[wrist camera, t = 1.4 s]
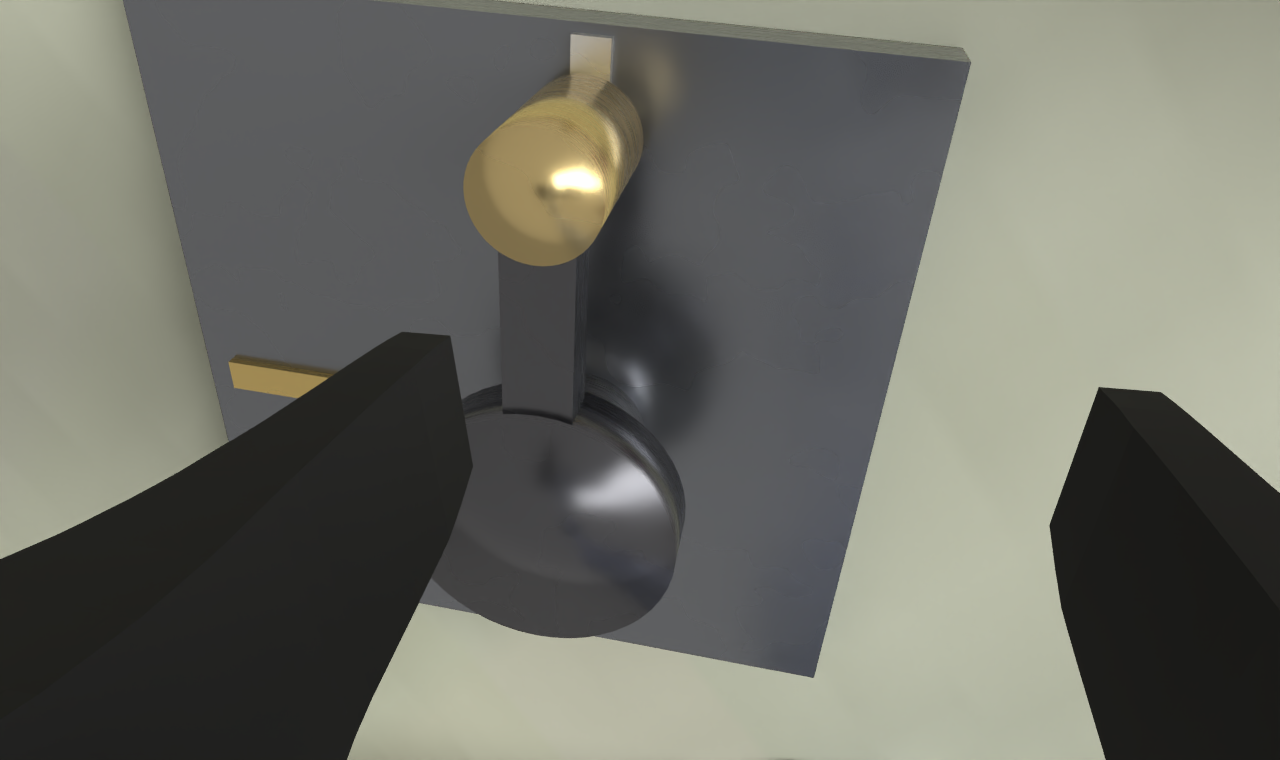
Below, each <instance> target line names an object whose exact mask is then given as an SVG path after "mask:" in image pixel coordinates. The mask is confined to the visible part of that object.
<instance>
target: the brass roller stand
mask: <svg viewBox="0 0 1280 760" xmlns="http://www.w3.org/2000/svg"><path fill="white" fill-rule="evenodd" d="M642 150H643V129H642V124H641V120H640V118H639V115H638V113H637V111H636V109H635V107H634V105H633V104H632V102H631V101H630V99H629V98H628V97H627V96H626V95H625V94H624V93H623V92H622V91H621V90H620V89H619V88H618V87H617V86H615V85H614V84H612V83H610V82H609V81H607V80H605V79H603V78H600V77H597V76H594V75H589V74H578V73H577V74H568V75H564V76H561V77H558V78H556V79H554V80H552V81H550V82H549V83H547V84H546V85H545V86H544V87H542V88H541V89H540V90H539V91H538V92H537V93H536V94H535V95H533V96H532V97H531V98H530V99H529V100H528V101H527V102H526V103H525V104H524V105H522V106H521V107H520V108H519V109H518V110H517V111H516V112H515V113H514V114H513V115H511V116H510V117H509V118H508V119H507V120H506V121H505V122H504V123H503V124H502V125H500V126H499V127H498V128H497V129H496V130H495V131H494V132H493V133H492V134H491V135H489V136H488V137H487V138H486V139H485V140H484V141H483V142H482V143H481V144H480V145H479V146H478V147H477V148H476V150H475V151H474V153H473V154H472V156H471V157H470V160H469V162H468V164H467V167H466V170H465V175H464V181H463V192H464V200H465V204H466V208H467V211H468V213H469V216H470V218H471V220H472V222H473V224H474V226H475V227H476V229H477V230H478V232H479V233H480V234H481V236H482V237H483V238H484V239H485V240H486V241H487V242H488V243H489V244H490V245H491V246H492V247H493V248H495V249H496V250H497V251H498V271H499V306H500V340H501V375H502V384H499V385H495V386H491V387H488V388H484V389H482V390H479V391H477V392H475V393H473V394H470V395H468V396H467V397H465V398H464V399H462V405H463V411H464V417H465V422H466V428H467V434H468V439H469V445H470V451H471V457H472V462H473V468H472V472H471V475H470V478H469V481H468V485H467V488H466V491H465V494H464V497H463V501H462V504H461V507H460V510H459V513H458V516H457V519H456V522H455V524H454V527H453V530H452V533H451V536H450V539H449V541H448V543H447V545H446V547H445V550H444V552H443V554H442V556H441V558H440V560H439V562H438V564H437V566H436V568H435V571H434V573H433V575H432V577H431V578H432V579H433V580H434V581H435V582H436V583H437V584H438V585H439V586H440V587H441V588H442V589H443V590H444V591H445V592H447V593H448V594H449V595H450V596H452V597H453V598H454V599H455V600H457V601H458V602H459V603H461V604H463V605H464V606H466V607H467V608H469V609H470V610H472V611H474V612H475V613H477V614H479V615H481V616H483V617H485V618H487V619H489V620H491V621H493V622H496V623H498V624H500V625H503V626H506V627H509V628H512V629H515V630H518V631H522V632H526V633H530V634H534V635H540V636H547V637H558V638H580V637H590V636H596V635H602V634H605V633H609V632H613V631H616V630H618V629H621V628H623V627H626V626H628V625H630V624H632V623H633V622H635V621H637V620H639V619H640V618H642V617H643V616H644V615H646V614H647V613H648V612H649V611H651V610H652V609H653V608H654V606H655V605H656V604H657V603H658V602H659V601H660V600H661V598H662V597H663V595H664V594H665V592H666V590H667V589H668V587H669V584H670V582H671V579H672V577H673V573H674V568H675V564H676V559H677V554H678V550H679V545H680V540H681V536H682V531H683V526H684V521H685V507H686V504H685V496H684V490H683V486H682V483H681V480H680V476H679V474H678V472H677V470H676V467H675V465H674V463H673V461H672V460H671V458H670V456H669V455H668V453H667V452H666V450H665V449H664V447H663V446H662V445H661V444H660V442H659V441H658V440H657V439H656V438H655V436H654V435H653V434H652V433H651V432H650V431H649V430H648V429H647V428H645V427H644V426H643V425H642V424H641V423H640V422H639V421H638V420H636V419H635V418H634V417H632V416H631V415H630V414H628V413H627V412H626V411H624V410H622V409H621V408H619V407H617V406H616V405H614V404H612V403H610V402H609V401H607V400H605V399H602V398H600V397H598V396H596V395H593V394H591V393H588V392H585V366H586V335H587V304H588V273H589V246H590V245H591V244H592V243H593V242H594V240H595V238H596V237H597V235H598V233H599V232H600V230H601V228H602V226H603V225H604V223H605V221H606V219H607V218H608V216H609V214H610V212H611V211H612V209H613V207H614V205H615V204H616V202H617V200H618V199H619V197H620V195H621V193H622V192H623V190H624V188H625V186H626V185H627V183H628V181H629V179H630V178H631V176H632V174H633V172H634V171H635V169H636V167H637V165H638V163H639V161H640V158H641V154H642Z"/></svg>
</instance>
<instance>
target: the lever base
mask: <svg viewBox="0 0 1280 760" xmlns="http://www.w3.org/2000/svg"><path fill="white" fill-rule="evenodd" d="M123 2H124V6H125V11H126V15H127V19H128V23H129V27H130V31H131V36H132V40H133V44H134V48H135V52H136V57H137V61H138V65H139V69H140V73H141V77H142V82H143V86H144V90H145V94H146V98H147V102H148V107H149V111H150V115H151V119H152V123H153V127H154V132H155V136H156V140H157V144H158V148H159V152H160V157H161V161H162V165H163V169H164V173H165V178H166V182H167V186H168V190H169V194H170V198H171V203H172V207H173V211H174V215H175V219H176V223H177V228H178V232H179V236H180V240H181V244H182V248H183V253H184V257H185V261H186V265H187V269H188V273H189V278H190V282H191V286H192V290H193V294H194V299H195V303H196V307H197V311H198V315H199V319H200V324H201V328H202V332H203V336H204V340H205V344H206V349H207V353H208V357H209V361H210V365H211V369H212V374H213V378H214V382H215V386H216V390H217V394H218V399H219V403H220V407H221V411H222V415H223V420H224V424H225V428H226V432H227V436H228V440H229V442H230V441H231V440H233V439H235V438H236V437H238V436H239V435H241V434H243V433H244V432H246V431H248V430H249V429H251V428H253V427H254V426H256V425H258V424H259V423H261V422H262V421H264V420H266V419H267V418H269V417H270V416H272V415H273V414H275V413H276V412H278V411H279V410H281V409H282V408H284V407H285V406H287V405H288V404H290V403H291V402H293V401H295V400H296V399H298V398H299V397H301V396H302V395H304V394H305V393H307V392H308V391H310V390H311V389H313V388H314V387H316V386H317V385H319V384H320V383H322V382H323V381H325V380H326V379H328V378H329V377H331V376H332V375H334V374H335V373H337V372H338V371H340V370H341V369H343V368H344V367H346V366H347V365H349V364H350V363H352V362H353V361H355V360H356V359H358V358H359V357H361V356H363V355H364V354H366V353H367V352H369V351H370V350H372V349H373V348H375V347H376V346H378V345H380V344H381V343H383V342H385V341H386V340H388V339H390V338H391V337H393V336H395V335H397V334H398V333H400V332H412V333H425V334H437V335H450V337H451V342H452V348H453V354H454V359H455V365H456V371H457V377H458V382H459V388H460V394H461V399H464V398H465V397H467V396H468V395H470V394H473V393H475V392H477V391H479V390H482V389H484V388H488V387H491V386H495V385H499V384H502V375H501V340H500V306H499V271H498V251H497V250H496V249H495V248H493V247H492V246H491V245H490V244H489V243H488V242H487V241H486V240H485V239H484V238H483V237H482V236H481V234H480V233H479V232H478V230H477V229H476V227H475V226H474V224H473V222H472V220H471V218H470V216H469V213H468V211H467V208H466V204H465V200H464V192H463V181H464V175H465V170H466V167H467V164H468V162H469V160H470V157H471V156H472V154H473V153H474V151H475V150H476V148H477V147H478V146H479V145H480V144H481V143H482V142H483V141H484V140H485V139H486V138H487V137H488V136H489V135H491V134H492V133H493V132H494V131H495V130H496V129H497V128H498V127H499V126H500V125H502V124H503V123H504V122H505V121H506V120H507V119H508V118H509V117H510V116H511V115H513V114H514V113H515V112H516V111H517V110H518V109H519V108H520V107H521V106H522V105H524V104H525V103H526V102H527V101H528V100H529V99H530V98H531V97H532V96H533V95H535V94H536V93H537V92H538V91H539V90H540V89H541V88H542V87H544V86H545V85H546V84H547V83H549V82H550V81H552V80H554V79H556V78H558V77H561V76H564V75H568V74H577V73H578V74H589V75H594V76H597V77H600V78H603V79H605V80H607V81H609V82H610V83H612V84H614V85H615V86H617V87H618V88H619V89H620V90H621V91H622V92H623V93H624V94H625V95H626V96H627V97H628V98H629V99H630V101H631V102H632V104H633V105H634V107H635V109H636V111H637V113H638V115H639V118H640V120H641V124H642V129H643V150H642V154H641V158H640V161H639V163H638V165H637V167H636V169H635V171H634V172H633V174H632V176H631V178H630V179H629V181H628V183H627V185H626V186H625V188H624V190H623V192H622V193H621V195H620V197H619V199H618V200H617V202H616V204H615V205H614V207H613V209H612V211H611V212H610V214H609V216H608V218H607V219H606V221H605V223H604V225H603V226H602V228H601V230H600V232H599V233H598V235H597V237H596V238H595V240H594V242H593V243H592V244H591V245H590V246H589V273H588V304H587V335H586V366H585V392H588V393H591V394H593V395H596V396H598V397H600V398H602V399H605V400H607V401H609V402H610V403H612V404H614V405H616V406H617V407H619V408H621V409H622V410H624V411H626V412H627V413H628V414H630V415H631V416H632V417H634V418H635V419H636V420H638V421H639V422H640V423H641V424H642V425H643V426H644V427H645V428H647V429H648V430H649V431H650V432H651V433H652V434H653V435H654V436H655V438H656V439H657V440H658V441H659V442H660V444H661V445H662V446H663V447H664V449H665V450H666V452H667V453H668V455H669V456H670V458H671V460H672V461H673V463H674V465H675V467H676V470H677V472H678V474H679V476H680V480H681V483H682V486H683V490H684V496H685V504H686V507H685V521H684V526H683V531H682V536H681V540H680V545H679V550H678V554H677V559H676V564H675V568H674V573H673V577H672V579H671V582H670V584H669V587H668V589H667V590H666V592H665V594H664V595H663V597H662V598H661V600H660V601H659V602H658V603H657V604H656V605H655V606H654V608H653V609H652V610H651V611H649V612H648V613H647V614H646V615H644V616H643V617H642V618H640V619H639V620H637V621H635V622H633V623H632V624H630V625H628V626H626V627H623V628H621V629H618V630H616V631H613V632H609V633H605V634H602V635H596V636H597V637H602V638H607V639H612V640H618V641H623V642H628V643H633V644H639V645H644V646H649V647H654V648H660V649H665V650H670V651H675V652H681V653H686V654H691V655H697V656H702V657H707V658H712V659H718V660H723V661H728V662H733V663H739V664H744V665H749V666H754V667H760V668H765V669H770V670H775V671H781V672H786V673H791V674H796V675H802V676H807V677H812V678H814V675H815V671H816V667H817V663H818V659H819V655H820V651H821V647H822V643H823V639H824V635H825V632H826V628H827V624H828V620H829V616H830V612H831V608H832V604H833V600H834V596H835V592H836V589H837V585H838V581H839V577H840V573H841V569H842V565H843V561H844V557H845V553H846V549H847V546H848V542H849V538H850V534H851V530H852V526H853V522H854V518H855V514H856V510H857V506H858V503H859V499H860V495H861V491H862V487H863V483H864V479H865V475H866V471H867V467H868V463H869V460H870V456H871V452H872V448H873V444H874V440H875V436H876V432H877V428H878V424H879V420H880V417H881V413H882V409H883V405H884V401H885V397H886V393H887V389H888V385H889V381H890V377H891V373H892V370H893V366H894V362H895V358H896V354H897V350H898V346H899V342H900V338H901V334H902V330H903V327H904V323H905V319H906V315H907V311H908V307H909V303H910V299H911V295H912V291H913V287H914V284H915V280H916V276H917V272H918V268H919V264H920V260H921V256H922V252H923V248H924V244H925V241H926V237H927V233H928V229H929V225H930V221H931V217H932V213H933V209H934V205H935V201H936V198H937V194H938V190H939V186H940V182H941V178H942V174H943V170H944V166H945V162H946V158H947V155H948V151H949V147H950V143H951V139H952V135H953V131H954V127H955V123H956V119H957V115H958V112H959V108H960V104H961V100H962V96H963V92H964V88H965V84H966V80H967V76H968V72H969V69H970V65H971V61H970V60H969V58H968V56H967V54H966V52H965V51H964V49H963V48H956V47H946V46H936V45H927V44H917V43H907V42H897V41H887V40H877V39H868V38H858V37H848V36H838V35H828V34H819V33H809V32H799V31H789V30H779V29H769V28H760V27H750V26H740V25H730V24H720V23H711V22H701V21H691V20H681V19H671V18H661V17H652V16H642V15H632V14H622V13H612V12H602V11H593V10H583V9H573V8H563V7H553V6H544V5H534V4H524V3H514V2H504V1H494V0H123ZM419 603H423V604H428V605H434V606H439V607H444V608H449V609H455V610H460V611H465V612H470V613H475V612H474V611H472V610H470V609H469V608H467V607H466V606H464V605H463V604H461V603H459V602H458V601H457V600H455V599H454V598H453V597H452V596H450V595H449V594H448V593H447V592H445V591H444V590H443V589H442V588H441V587H440V586H439V585H438V584H437V583H436V582H435V581H434V580H433V579H432V578H431V579H430V581H429V583H428V585H427V587H426V589H425V591H424V593H423V596H422V598H421V600H420V602H419ZM476 614H477V613H476Z"/></svg>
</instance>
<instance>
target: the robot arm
mask: <svg viewBox="0 0 1280 760" xmlns="http://www.w3.org/2000/svg"><path fill="white" fill-rule="evenodd" d="M472 468H473V462H472V457H471V451H470V445H469V439H468V434H467V428H466V422H465V417H464V411H463V405H462V399H461V394H460V388H459V382H458V377H457V371H456V365H455V359H454V354H453V348H452V342H451V337H450V335H437V334H425V333H412V332H400V333H398V334H397V335H395V336H393V337H391V338H390V339H388V340H386V341H385V342H383V343H381V344H380V345H378V346H376V347H375V348H373V349H372V350H370V351H369V352H367V353H366V354H364V355H363V356H361V357H359V358H358V359H356V360H355V361H353V362H352V363H350V364H349V365H347V366H346V367H344V368H343V369H341V370H340V371H338V372H337V373H335V374H334V375H332V376H331V377H329V378H328V379H326V380H325V381H323V382H322V383H320V384H319V385H317V386H316V387H314V388H313V389H311V390H310V391H308V392H307V393H305V394H304V395H302V396H301V397H299V398H298V399H296V400H295V401H293V402H291V403H290V404H288V405H287V406H285V407H284V408H282V409H281V410H279V411H278V412H276V413H275V414H273V415H272V416H270V417H269V418H267V419H266V420H264V421H262V422H261V423H259V424H258V425H256V426H254V427H253V428H251V429H249V430H248V431H246V432H244V433H243V434H241V435H239V436H238V437H236V438H235V439H233V440H231V441H230V442H228V443H226V444H225V445H223V446H221V447H220V448H218V449H216V450H215V451H213V452H211V453H210V454H208V455H206V456H205V457H203V458H201V459H200V460H198V461H196V462H195V463H193V464H191V465H190V466H188V467H186V468H185V469H183V470H181V471H180V472H178V473H176V474H174V475H173V476H171V477H169V478H167V479H165V480H164V481H162V482H160V483H158V484H156V485H155V486H153V487H151V488H149V489H147V490H145V491H143V492H142V493H140V494H138V495H136V496H134V497H132V498H130V499H128V500H126V501H124V502H122V503H120V504H118V505H116V506H114V507H112V508H110V509H108V510H106V511H104V512H102V513H100V514H98V515H96V516H94V517H92V518H91V519H89V520H87V521H85V522H83V523H81V524H79V525H77V526H74V527H72V528H70V529H68V530H66V531H64V532H62V533H60V534H57V535H55V536H53V537H51V538H49V539H46V540H44V541H42V542H39V543H37V544H35V545H32V546H30V547H28V548H25V549H23V550H21V551H18V552H16V553H14V554H12V555H9V556H7V557H5V558H2V559H0V760H347V758H348V755H349V752H350V750H351V747H352V744H353V741H354V739H355V736H356V734H357V731H358V729H359V727H360V725H361V722H362V720H363V718H364V715H365V713H366V711H367V709H368V706H369V704H370V702H371V700H372V697H373V695H374V693H375V691H376V689H377V687H378V685H379V683H380V681H381V679H382V677H383V675H384V673H385V671H386V669H387V667H388V665H389V663H390V661H391V659H392V657H393V655H394V652H395V650H396V648H397V646H398V644H399V642H400V640H401V638H402V636H403V634H404V632H405V630H406V628H407V626H408V624H409V622H410V620H411V618H412V616H413V614H414V612H415V610H416V608H417V606H418V604H419V602H420V600H421V598H422V596H423V593H424V591H425V589H426V587H427V585H428V583H429V581H430V579H431V577H432V575H433V573H434V571H435V568H436V566H437V564H438V562H439V560H440V558H441V556H442V554H443V552H444V550H445V547H446V545H447V543H448V541H449V539H450V536H451V533H452V530H453V527H454V524H455V522H456V519H457V516H458V513H459V510H460V507H461V504H462V501H463V497H464V494H465V491H466V488H467V485H468V481H469V478H470V475H471V472H472ZM1050 532H1051V540H1052V548H1053V555H1054V563H1055V570H1056V577H1057V583H1058V589H1059V595H1060V602H1061V608H1062V612H1063V615H1064V619H1065V623H1066V626H1067V630H1068V633H1069V637H1070V640H1071V644H1072V647H1073V651H1074V654H1075V657H1076V661H1077V664H1078V668H1079V671H1080V675H1081V678H1082V682H1083V685H1084V688H1085V692H1086V695H1087V698H1088V702H1089V705H1090V708H1091V712H1092V715H1093V718H1094V722H1095V725H1096V728H1097V732H1098V735H1099V738H1100V742H1101V745H1102V749H1103V752H1104V755H1105V759H1106V760H1280V493H1279V492H1278V491H1277V490H1275V489H1274V488H1273V487H1272V486H1271V485H1270V484H1268V483H1267V482H1266V481H1265V480H1264V479H1263V478H1262V477H1260V476H1259V475H1258V474H1257V473H1256V472H1255V471H1253V470H1252V469H1251V468H1250V467H1249V466H1248V465H1247V464H1245V463H1244V462H1243V461H1242V460H1241V459H1240V458H1239V457H1237V456H1236V455H1235V454H1234V453H1233V452H1232V451H1231V450H1229V449H1228V448H1227V447H1226V446H1225V445H1224V444H1223V443H1221V442H1220V441H1219V440H1218V439H1217V438H1216V437H1215V436H1213V435H1212V434H1211V433H1210V432H1209V431H1208V430H1206V429H1205V428H1204V427H1203V426H1202V425H1201V424H1200V423H1198V422H1197V421H1196V420H1195V419H1194V418H1192V417H1191V416H1190V415H1189V414H1188V413H1187V412H1185V411H1184V410H1183V409H1182V408H1180V407H1179V406H1178V405H1177V404H1176V403H1174V402H1173V401H1172V400H1170V399H1169V398H1168V397H1167V396H1165V395H1164V394H1163V393H1161V392H1152V391H1140V390H1127V389H1115V388H1102V387H1099V388H1098V391H1097V394H1096V397H1095V400H1094V402H1093V405H1092V408H1091V411H1090V414H1089V416H1088V419H1087V422H1086V425H1085V427H1084V430H1083V433H1082V436H1081V439H1080V441H1079V444H1078V447H1077V450H1076V453H1075V455H1074V458H1073V461H1072V464H1071V467H1070V469H1069V472H1068V475H1067V478H1066V481H1065V483H1064V486H1063V489H1062V492H1061V495H1060V497H1059V500H1058V503H1057V506H1056V508H1055V511H1054V514H1053V517H1052V520H1051V522H1050Z"/></svg>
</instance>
